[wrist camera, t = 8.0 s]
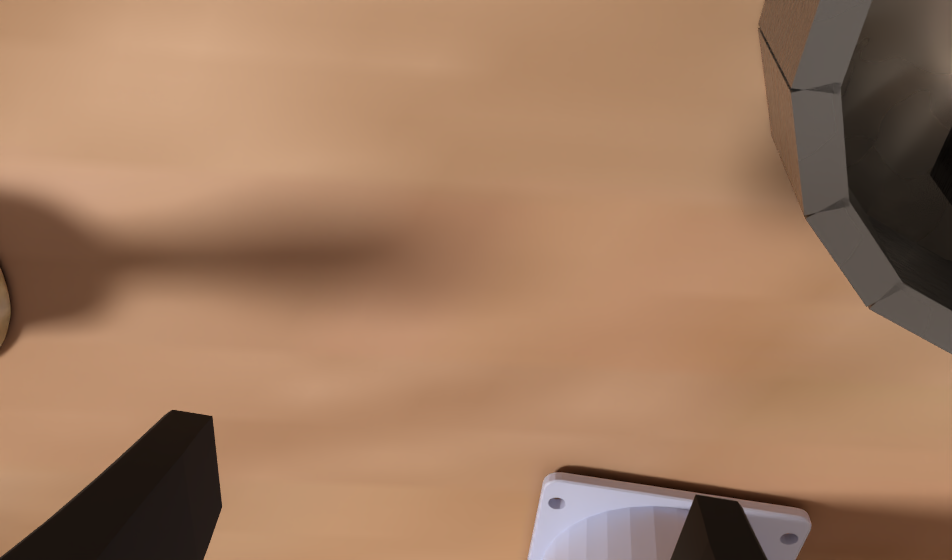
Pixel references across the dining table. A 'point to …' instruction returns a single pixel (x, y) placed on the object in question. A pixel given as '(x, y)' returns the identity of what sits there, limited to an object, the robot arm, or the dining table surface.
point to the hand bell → (4, 308)
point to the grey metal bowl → (870, 144)
